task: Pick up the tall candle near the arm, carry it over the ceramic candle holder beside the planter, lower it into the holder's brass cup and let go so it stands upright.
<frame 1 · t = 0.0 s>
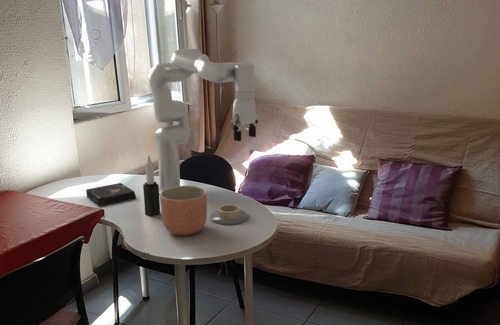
hand: (245, 138, 178), 31 cm above the table, tool pointing down, fingers open, 9 cm apart
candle: (152, 214, 184), on the table
planter: (185, 231, 167), on the table
candle holder: (229, 217, 180), on the table
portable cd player: (111, 198, 205), on the table
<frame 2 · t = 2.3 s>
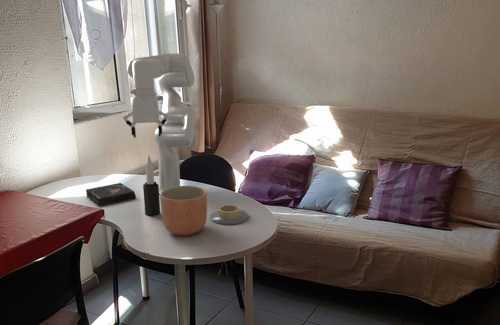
hand: (147, 136, 176), 33 cm above the table, tool pointing down, fingers open, 9 cm apart
nothing on the table moved.
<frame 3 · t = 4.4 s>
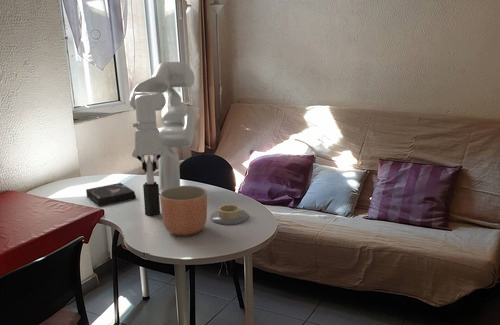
hand: (149, 170, 179), 19 cm above the table, tool pointing down, fingers closed on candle, 2 cm apart
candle: (152, 214, 184), on the table, touching gripper
everything else where it was.
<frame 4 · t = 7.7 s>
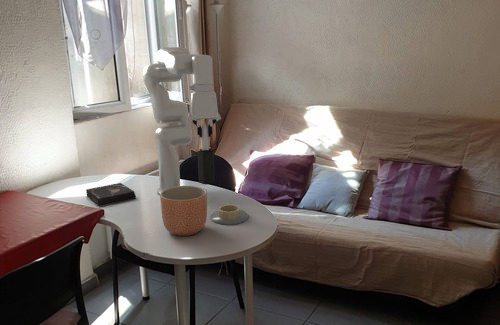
hand: (204, 136, 172), 33 cm above the table, tool pointing down, fingers closed on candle, 2 cm apart
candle: (206, 182, 177), point 15 cm above the table, touching gripper
everything else where it was.
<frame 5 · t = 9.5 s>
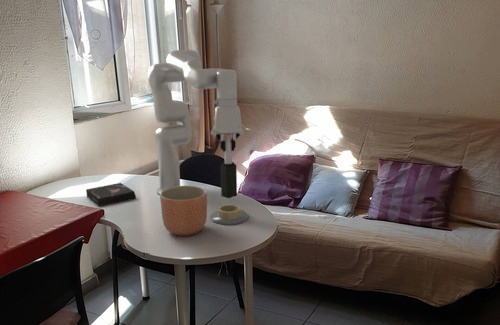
hand: (228, 150, 172), 28 cm above the table, tool pointing down, fingers closed on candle, 2 cm apart
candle: (229, 196, 177), point 9 cm above the table, touching gripper
everything else where it was.
when the fingers open (20 cm above the table, at t = 11.0 s): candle stays where it is, resting on candle holder.
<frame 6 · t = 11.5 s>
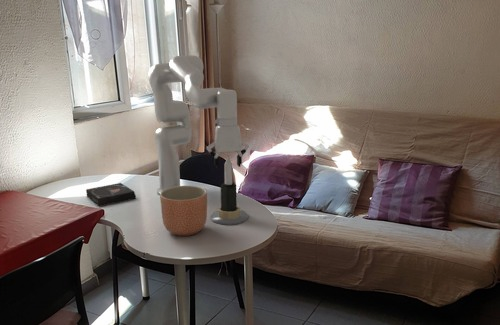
hand: (228, 166, 174), 21 cm above the table, tool pointing down, fingers open, 8 cm apart
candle: (228, 215, 180), point 1 cm above the table, touching candle holder
everything else where it was.
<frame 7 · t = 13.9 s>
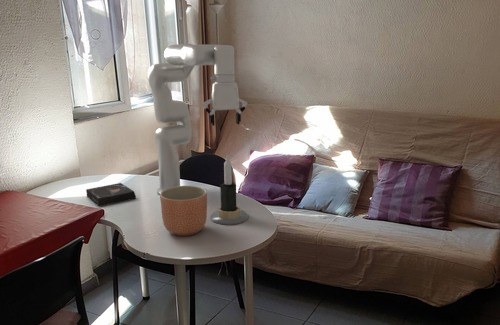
hand: (225, 124, 171), 38 cm above the table, tool pointing down, fingers open, 9 cm apart
nothing on the table moved.
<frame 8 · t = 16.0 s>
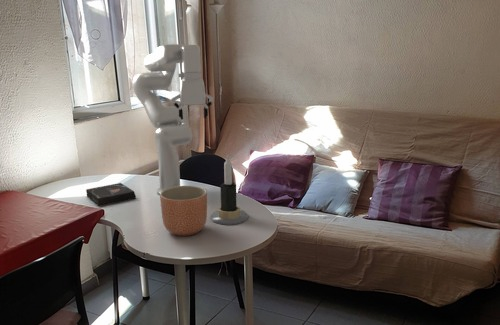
hand: (193, 118, 183), 38 cm above the table, tool pointing down, fingers open, 9 cm apart
nothing on the table moved.
at the end: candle 0.1 cm off-centre on the candle holder, point 0.8 cm above the candle holder's base; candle tilted 0°; the gripper is holding nothing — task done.
